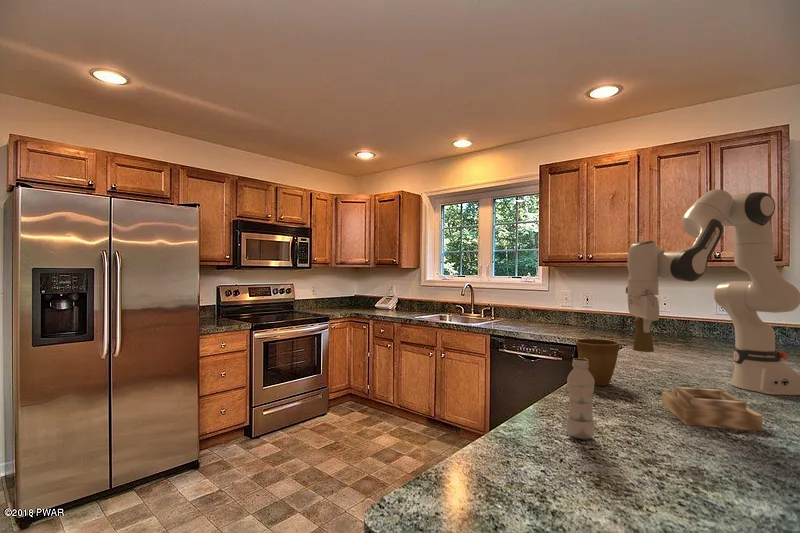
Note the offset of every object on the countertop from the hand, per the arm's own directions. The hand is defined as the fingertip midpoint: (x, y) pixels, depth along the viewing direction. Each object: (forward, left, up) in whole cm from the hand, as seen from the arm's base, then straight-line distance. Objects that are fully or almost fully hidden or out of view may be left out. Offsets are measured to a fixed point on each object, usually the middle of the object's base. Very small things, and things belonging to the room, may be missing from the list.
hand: (643, 331), depth 137 cm
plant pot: (+11, -18, -23) cm, 31 cm away
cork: (0, 0, -7) cm, 7 cm away
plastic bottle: (+26, +39, -23) cm, 52 cm away
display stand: (-13, +13, -23) cm, 29 cm away
